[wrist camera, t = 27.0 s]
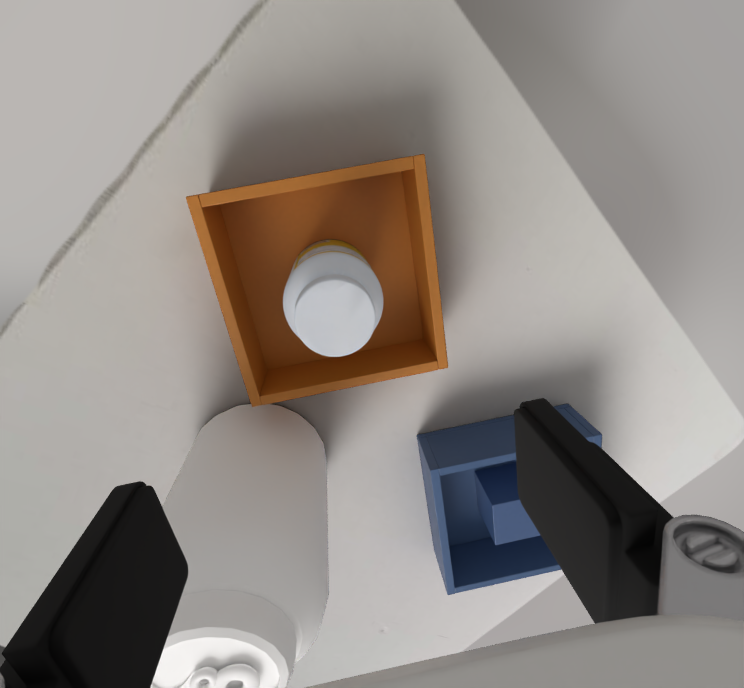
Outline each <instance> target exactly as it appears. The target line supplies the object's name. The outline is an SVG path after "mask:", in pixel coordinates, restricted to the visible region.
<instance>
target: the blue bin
mask: <svg viewBox="0 0 744 688" xmlns="http://www.w3.org/2000/svg"><path fill="white" fill-rule="evenodd" d="M554 408H555V409H556V410H557V411H558V412H559V413H560V414H561V415H562V416H563V417H564V418H565V419H566V420H567V421H568V422H569V423H570V424H571V425H572V426H573V427H575V428H576V429H577V430H578V431H579V432H580V433H581V434H582V435H583V436H584V437H585V438H586V439H587V440H588V441H589V442H593V443H595V444H597V445H598V446H599V447H600V448H601V446H602V434H601V433H600V432H599V431H598V430H597V429H596V428H594V427H593V426H592V425H591V424H590V423H589V422H588V421H587V420H586V419H584V418H583V417H582V416H581V415H580V414H579V413H578V412H577V411H576V410H575V409H573V408H572V407H571V406H570V405H569V404H563V405H559V406H554ZM417 440H418V446H419V453H420V460H421V466H422V473H423V479H424V486H425V493H426V499H427V506H428V513H429V519H430V526H431V532H432V539H433V546H434V551H435V554H436V558H437V561H438V564H439V568H440V571H441V574H442V578H443V581H444V584H445V587H446V591H447V594H448V595H450V594H455V593H459V592H463V591H468V590H472V589H477V588H481V587H485V586H490V585H494V584H499V583H503V582H508V581H512V580H517V579H521V578H526V577H530V576H535V575H539V574H543V573H548V572H552V571H557V570H561V567H560V566H559V564H558V563H557V561H556V559H555V558H554V556H553V555H552V553H551V551H550V550H549V548H548V546H547V545H546V543H545V542H544V540H543V538H542V537H541V535H540V536H535V537H531V538H526V539H522V540H517V541H513V542H508V543H504V544H499V545H495V543H494V541H493V539H492V537H491V535H490V533H489V531H488V529H487V526H486V524H485V522H484V520H483V518H482V516H481V514H480V512H479V510H478V505H477V494H476V484H475V473H474V471H478V470H482V469H487V468H492V467H496V466H501V465H506V464H511V463H515V462H516V445H515V424H514V415H511V416H506V417H501V418H496V419H491V420H486V421H482V422H477V423H472V424H467V425H462V426H458V427H453V428H448V429H443V430H438V431H433V432H429V433H424V434H419V435H417Z"/></svg>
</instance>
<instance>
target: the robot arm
mask: <svg viewBox="0 0 744 688" xmlns="http://www.w3.org/2000/svg"><path fill="white" fill-rule="evenodd" d="M514 424H515V445H516V466H517V487H518V495H519V499H520V502H521V504H522V506H523V507H524V509H525V511H526V512H527V514H528V516H529V517H530V519H531V520H532V522H533V524H534V525H535V527H536V529H537V530H538V532H539V533H540V535H541V537H542V538H543V540H544V542H545V543H546V545H547V546H548V548H549V550H550V551H551V553H552V555H553V556H554V558H555V559H556V561H557V563H558V564H559V566H560V567H561V569H562V571H563V572H564V574H565V576H566V577H567V579H568V580H569V582H570V584H571V585H572V587H573V589H574V590H575V592H576V593H577V595H578V597H579V598H580V600H581V601H582V603H583V605H584V606H585V608H586V610H587V611H588V613H589V614H590V616H591V618H592V619H593V621H594V623H595V624H591V625H586V626H582V627H577V628H572V629H567V630H562V631H557V632H553V633H548V634H542V635H537V636H533V637H527V638H523V639H519V640H514V641H510V642H505V643H501V644H496V645H492V646H487V647H482V648H478V649H474V650H469V651H465V652H460V653H456V654H451V655H447V656H442V657H438V658H433V659H429V660H424V661H420V662H415V663H411V664H406V665H402V666H398V667H393V668H389V669H385V670H380V671H376V672H372V673H367V674H363V675H358V676H354V677H350V678H345V679H341V680H337V681H332V682H328V683H324V684H319V685H315V686H311V687H306V688H744V532H743V531H741V530H740V529H738V528H736V527H734V526H732V525H730V524H728V523H726V522H724V521H721V520H718V519H715V518H712V517H707V516H700V515H682V516H678V517H675V518H673V517H672V516H671V515H670V514H669V513H668V512H667V511H666V510H665V509H664V508H663V507H662V506H661V505H660V504H659V503H658V502H657V501H656V500H655V499H654V498H653V497H652V496H650V495H649V494H648V493H647V492H646V491H645V490H644V489H643V488H642V487H641V486H640V485H639V484H638V483H637V482H636V481H635V480H634V479H633V478H632V477H631V476H630V475H629V474H627V473H626V472H625V471H624V470H623V469H622V468H621V467H620V466H619V465H618V464H617V463H616V462H615V461H614V460H613V459H612V458H611V457H610V456H609V455H608V454H607V453H606V452H605V451H603V450H602V449H601V448H600V447H599V446H598V445H597V444H595V443H593V442H589V441H588V440H587V439H586V438H585V437H584V436H583V435H582V434H581V433H580V432H579V431H578V430H577V429H576V428H575V427H573V426H572V425H571V424H570V423H569V422H568V421H567V420H566V419H565V418H564V417H563V416H562V415H561V414H560V413H559V412H558V411H557V410H556V409H555V408H554V407H553V406H552V405H551V404H550V403H549V402H548V401H547V400H546V399H544V398H541V399H536V400H531V401H527V402H522V403H521V404H520V409H516V410H515V411H514ZM187 578H188V564H187V561H186V559H185V556H184V554H183V552H182V550H181V548H180V545H179V543H178V541H177V539H176V537H175V534H174V532H173V530H172V528H171V526H170V523H169V521H168V519H167V517H166V515H165V512H164V510H163V508H162V506H161V504H160V501H159V499H158V497H157V495H156V493H155V490H154V489H153V487H152V486H146V484H145V483H144V482H135V483H130V484H125V485H120V486H117V487H115V488H114V489H113V490H112V492H111V493H110V495H109V496H108V498H107V499H106V501H105V502H104V504H103V505H102V506H101V508H100V509H99V511H98V512H97V514H96V515H95V517H94V518H93V520H92V521H91V523H90V524H89V526H88V527H87V529H86V530H85V531H84V533H83V534H82V536H81V537H80V539H79V540H78V542H77V543H76V545H75V546H74V548H73V549H72V551H71V552H70V554H69V555H68V557H67V558H66V559H65V561H64V562H63V564H62V565H61V567H60V568H59V570H58V571H57V573H56V574H55V576H54V577H53V579H52V580H51V582H50V583H49V584H48V586H47V587H46V589H45V590H44V592H43V593H42V595H41V596H40V598H39V599H38V601H37V602H36V604H35V605H34V607H33V608H32V609H31V611H30V612H29V614H28V615H27V617H26V618H25V620H24V621H23V623H22V624H21V626H20V627H19V629H18V630H17V632H16V633H15V634H14V636H13V637H12V639H11V640H10V642H9V643H8V645H7V646H6V648H5V649H4V651H3V652H2V655H3V656H4V657H5V659H6V660H5V661H4V663H3V664H2V666H1V667H0V688H150V687H151V684H152V681H153V678H154V675H155V672H156V669H157V666H158V663H159V661H160V658H161V655H162V652H163V649H164V646H165V643H166V640H167V637H168V634H169V631H170V628H171V625H172V622H173V619H174V616H175V613H176V611H177V608H178V605H179V602H180V599H181V596H182V593H183V590H184V587H185V584H186V581H187Z"/></svg>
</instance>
